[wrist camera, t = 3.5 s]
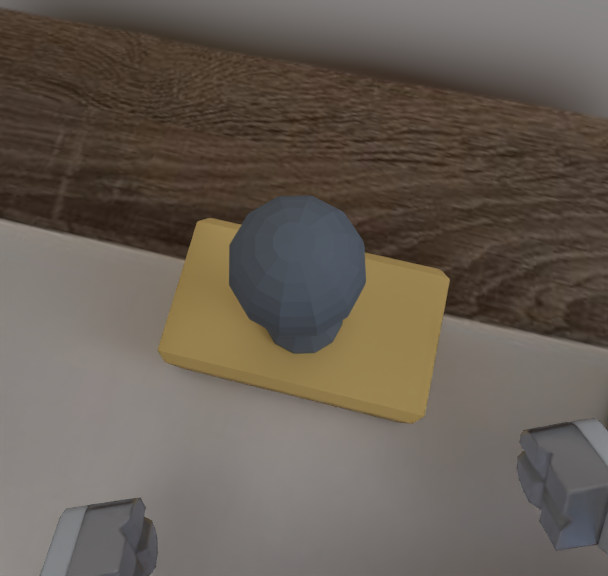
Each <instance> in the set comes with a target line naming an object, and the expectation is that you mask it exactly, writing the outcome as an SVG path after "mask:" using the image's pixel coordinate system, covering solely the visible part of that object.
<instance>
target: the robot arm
mask: <svg viewBox="0 0 608 576" xmlns="http://www.w3.org/2000/svg"><path fill="white" fill-rule="evenodd" d="M519 443H520V445H521V446H522V448H523V450H524V451H523V452H522V453H521V454H520V455H519V456H518V459H517V472H518V477H519V481H520V484H521V487H522V489H523V492H524V493H525V495H526V497H527V499H528V501H529V502H530V503H532V504H533V505H535V506H536V507H538V508H539V509H541V514H540V520H539V521H540V523H541V525H542V526H543V528H544V530H545V532H546V534H547V535H548V537H549V539H550V541H551V542H552V544H553V546H554V548H555V550H563V549H570V548H577V547H583V546H590V545H597V544H598V547H599V548H600V549H601V550H603V551H604V552H605V553H606V554H608V431H607V430H606V428H605V427H604V426H603V425H602V424H601V422H600V421H598V420H597V419H595V418H591V419H585V420H579V421H573V422H565V423H559V424H554V425H549V426H543V427H538V428H533V429H527V430H523V432H522V433H521V435H520V442H519ZM145 509H146V507H145V505H144V503H143V501H142V499H141V498H133V499H126V500H119V501H112V502H105V503H98V504H91V505H86V506H79V507H73V508H67V509H66V510H65V511H64V512H63V514H62V515H61V516H60V518H59V521H58V524H57V527H56V530H55V533H54V536H53V539H52V542H51V545H50V547H49V550H48V553H47V556H46V559H45V562H44V565H43V568H42V571H41V574H40V576H150V574H151V573H152V572H153V571H154V569H155V568H156V563H157V556H158V541H157V534H156V529H155V526H154V524H153V522H152V520H150V519H148V518H146V517H144V515H145Z"/></svg>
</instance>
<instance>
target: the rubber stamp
mask: <svg viewBox="0 0 608 576" xmlns="http://www.w3.org/2000/svg"><path fill="white" fill-rule="evenodd" d="M449 281H450V279H449V278H448V277H447V276H446V275H445V274H444V273H443V272H442V271H441V270H439V269H436V268H431V267H427V266H423V265H418V264H414V263H409V262H405V261H400V260H396V259H391V258H387V257H382V256H378V255H374V254H369V253H365V248H364V243H363V240H362V239H361V237H360V236H359V234H358V233H357V231H356V230H355V228H354V227H353V225H352V224H351V222H350V221H349V219H348V218H347V216H346V215H345V213H344V212H342V211H341V210H339V209H337V208H335V207H333V206H331V205H329V204H327V203H325V202H323V201H321V200H319V199H317V198H315V197H313V196H280V197H277V198H275V199H273V200H271V201H270V202H268V203H266V204H264V205H263V206H261V207H259V208H257V209H256V210H254V211H252V212H250V213H249V214H248V215H247V217H246V218H245V220H244V222H243V223H242V225H240V224H235V223H231V222H226V221H222V220H218V219H213V218H207V219H204V220H201V221H198V222H197V224H196V228H195V231H194V234H193V237H192V240H191V244H190V247H189V250H188V253H187V257H186V260H185V263H184V266H183V270H182V273H181V276H180V279H179V282H178V286H177V289H176V292H175V295H174V299H173V302H172V305H171V308H170V312H169V315H168V318H167V321H166V325H165V328H164V331H163V334H162V337H161V341H160V344H159V347H158V352H159V354H160V355H161V357H162V358H163V360H164V361H165V362H166V363H169V364H172V365H175V366H178V367H181V368H183V369H187V370H191V371H195V372H199V373H203V374H207V375H211V376H215V377H219V378H223V379H227V380H231V381H235V382H239V383H243V384H247V385H251V386H255V387H259V388H263V389H267V390H271V391H276V392H280V393H284V394H288V395H292V396H296V397H300V398H304V399H308V400H312V401H316V402H320V403H324V404H328V405H332V406H336V407H340V408H344V409H348V410H352V411H356V412H360V413H364V414H368V415H372V416H376V417H380V418H384V419H388V420H392V421H396V422H401V423H412V424H413V423H414V422H416V421H418V420H419V419H421V418H423V417H424V416H425V412H426V406H427V401H428V395H429V390H430V384H431V379H432V374H433V368H434V363H435V357H436V352H437V346H438V341H439V336H440V330H441V325H442V319H443V314H444V308H445V303H446V298H447V292H448V287H449Z"/></svg>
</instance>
